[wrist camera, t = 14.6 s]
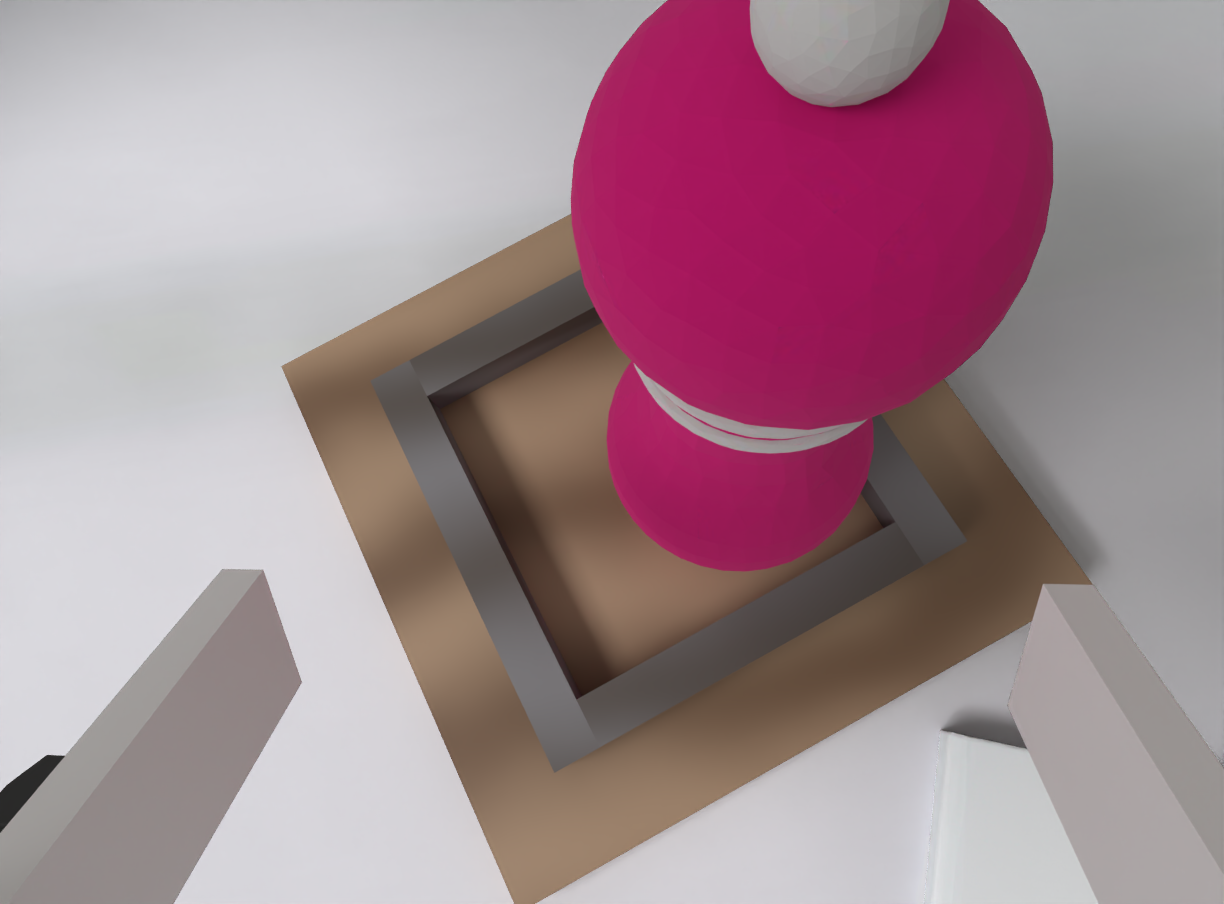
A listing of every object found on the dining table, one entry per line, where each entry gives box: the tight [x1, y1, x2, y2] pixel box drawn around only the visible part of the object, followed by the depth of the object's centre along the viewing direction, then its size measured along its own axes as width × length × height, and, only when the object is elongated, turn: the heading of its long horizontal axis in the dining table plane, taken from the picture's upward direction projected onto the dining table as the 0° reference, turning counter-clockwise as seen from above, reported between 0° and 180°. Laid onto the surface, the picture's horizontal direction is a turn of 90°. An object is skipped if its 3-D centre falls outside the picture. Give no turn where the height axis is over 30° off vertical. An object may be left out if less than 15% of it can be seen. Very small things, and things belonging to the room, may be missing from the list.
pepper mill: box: [571, 0, 1053, 572], centre depth 16 cm, size 7×7×20 cm
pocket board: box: [281, 214, 1093, 904], centre depth 26 cm, size 20×20×3 cm
